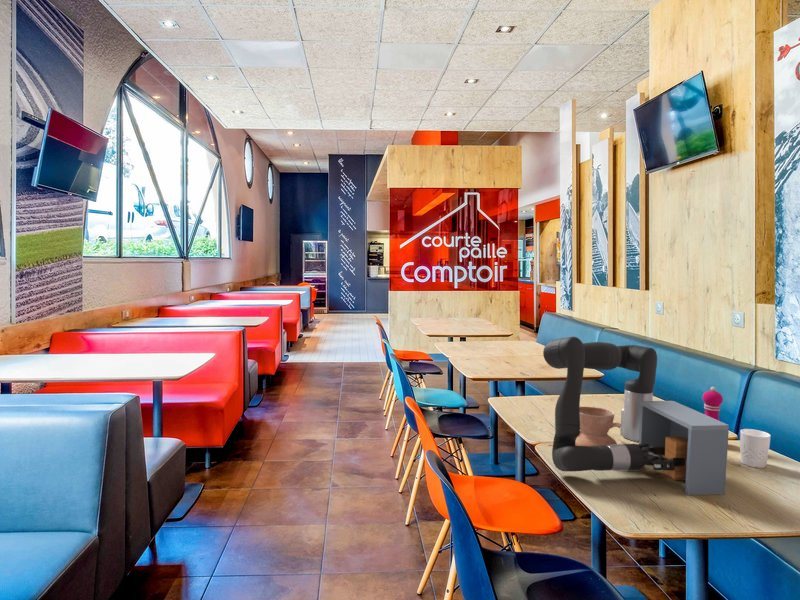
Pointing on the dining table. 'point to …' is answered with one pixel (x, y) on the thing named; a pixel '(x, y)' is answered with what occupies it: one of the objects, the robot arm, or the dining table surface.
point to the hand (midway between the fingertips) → (675, 456)
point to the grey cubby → (689, 442)
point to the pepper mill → (712, 403)
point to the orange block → (676, 456)
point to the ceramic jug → (595, 427)
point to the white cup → (754, 447)
